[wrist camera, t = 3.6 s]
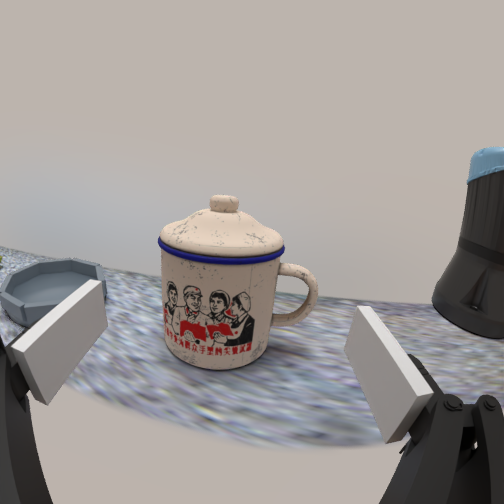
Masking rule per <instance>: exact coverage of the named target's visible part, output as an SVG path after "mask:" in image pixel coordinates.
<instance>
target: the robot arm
mask: <svg viewBox="0 0 504 504" xmlns="http://www.w3.org/2000/svg"><path fill="white" fill-rule="evenodd" d="M467 185H468V190H467V197H466V205H465V211H464V217H463V222H462V227H461V232H460V237H459V241H458V246H457V250H456V252H455V254H454V256H453V258H452V260H451V262H450V263H449V265H448V266H447V268H446V270H445V271H444V273H443V275H442V277H441V278H440V280H439V281H438V282H437V284H436V287H435V290H434V293H433V296H432V303H433V305H434V306H435V308H436V309H437V310H438V311H439V312H440V313H441V314H442V315H443V316H445V317H446V318H447V319H449V320H450V321H452V322H453V323H455V324H457V325H458V326H460V327H462V328H464V329H466V330H469V331H471V332H473V333H476V334H479V335H482V336H486V337H492V338H504V147H489V148H484V149H481V150H479V151H477V152H476V153H475V154H474V155H473V156H472V158H471V164H470V171H469V178H468V180H467ZM107 327H108V323H107V317H106V311H105V304H104V297H103V289H102V281H97V280H91V279H90V280H89V281H87V282H86V283H85V284H83V285H82V286H81V287H80V288H78V289H77V290H76V291H75V292H73V293H72V294H71V295H70V296H68V297H67V298H66V299H65V300H63V301H62V302H61V303H60V304H59V305H57V306H56V307H55V308H54V309H53V310H51V311H50V312H49V313H48V314H47V315H45V316H44V317H42V318H40V319H38V320H36V321H34V322H33V323H32V324H30V325H29V326H28V327H27V329H25V330H24V331H23V332H22V333H20V334H19V335H18V336H17V337H16V338H15V339H14V340H13V341H11V342H10V343H9V344H8V345H7V346H6V347H4V344H3V341H2V339H1V336H0V504H53V502H52V499H51V497H50V494H49V491H48V488H47V485H46V482H45V478H44V475H43V472H42V468H41V465H40V461H39V456H38V453H37V448H36V443H35V438H34V433H33V427H32V421H31V413H30V405H29V399H28V396H27V395H26V393H27V392H28V391H29V390H30V391H31V393H32V395H33V397H34V398H35V400H37V401H39V402H41V403H43V404H45V405H48V404H49V403H50V402H51V400H52V399H53V397H54V396H55V395H56V393H57V392H58V390H59V389H60V388H61V386H62V385H63V384H64V382H65V381H66V379H67V378H68V377H69V375H70V374H71V373H72V371H73V370H74V369H75V367H76V366H77V365H78V363H79V362H80V361H81V360H82V358H83V357H84V356H85V354H86V353H87V352H88V351H89V349H90V348H91V347H92V345H93V344H94V343H95V342H96V340H97V339H98V338H99V337H100V335H101V334H102V333H103V332H104V330H105V329H106V328H107ZM344 351H345V353H346V355H347V358H348V360H349V362H350V364H351V366H352V368H353V371H354V373H355V375H356V377H357V379H358V382H359V384H360V386H361V388H362V390H363V393H364V395H365V397H366V399H367V402H368V404H369V406H370V409H371V411H372V413H373V416H374V418H375V420H376V423H377V425H378V427H379V430H380V432H381V435H382V437H383V439H384V442H385V444H388V443H392V442H396V441H401V440H402V439H403V437H404V436H405V435H406V433H407V432H409V434H410V436H411V438H410V440H409V441H408V442H407V443H406V445H405V446H404V447H403V448H402V450H401V451H400V452H399V453H400V454H401V453H402V452H403V451H404V453H403V455H402V457H401V460H400V462H399V464H398V467H397V469H396V471H395V473H394V475H393V477H392V479H391V482H390V484H389V486H388V488H387V489H386V491H385V494H384V495H383V497H382V499H381V501H380V503H379V504H504V416H503V412H502V409H501V406H500V404H499V402H498V401H497V400H496V398H495V397H493V396H490V395H482V396H480V397H479V399H478V400H477V402H476V403H475V404H463V402H462V400H460V399H459V398H458V397H456V396H454V395H451V394H444V393H443V392H442V391H441V389H440V388H439V386H438V385H437V384H436V382H435V381H434V379H433V378H432V377H431V375H429V373H428V371H427V370H426V369H424V368H425V367H424V366H423V365H422V363H421V362H420V361H419V360H418V359H417V358H416V357H414V356H413V355H411V354H406V353H405V351H404V350H403V349H402V347H401V346H400V345H399V343H398V342H397V341H396V339H395V338H394V337H393V335H392V334H391V333H390V331H389V330H388V329H387V327H386V326H385V325H384V324H383V322H382V321H381V320H380V318H379V317H378V316H377V315H376V313H375V312H374V311H373V310H372V308H371V307H370V306H357V307H356V311H355V315H354V318H353V322H352V325H351V328H350V332H349V335H348V338H347V341H346V344H345V348H344ZM476 442H477V448H476V449H475V447H474V444H475V443H476Z"/></svg>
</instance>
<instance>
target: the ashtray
mask: <svg viewBox="0 0 504 504" xmlns="http://www.w3.org/2000/svg"><path fill="white" fill-rule="evenodd" d="M90 279H91V280H97V281H102V289H103V297H104V300H105V297H106V294H107V289H106V280H105V277H104V273H103V269H102V265H100V264H98V263H93V262H89V261H85V260H81V259H77V258H73V259H71V258H65V259H54V260H45V261H39V263H37V262H34V263H32V264H30V265H28V266H25V267H23V268H21V269H18V270H16V271H14V272H12V273H10V275H7V277H6V278H5V280H4V282H3V284H2V286H1V288H0V301H1V304H2V308H3V309H5V310H6V311H7V314H8V316H9V317H10V318H11V319H12V320H13V321H14V322H16V323H18V324H20V325H22V326H26V327H28V326H29V325H30V324H32V323H33V322H34V321H36V320H38V319H40V318H42V317H44V316H45V315H47V314H48V313H49V312H50V311H51V310H53V309H54V308H55V307H56V306H57V305H59V304H60V303H61V302H62V301H63V300H65V299H66V298H67V297H68V296H70V295H71V294H72V293H73V292H75V291H76V290H77V289H78V288H80V287H81V286H82V285H83V284H85V283H86V282H87V281H89V280H90Z"/></svg>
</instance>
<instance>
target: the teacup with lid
mask: <svg viewBox="0 0 504 504" xmlns="http://www.w3.org/2000/svg"><path fill="white" fill-rule="evenodd" d="M238 204H239V201H238V199H237V198H236V197H234V196H227V195H214V196H212V197H211V199H210V207H211V209H203V210H200V211H197V212H195V213H193V214H192V215H190V216H189V217H187V218H186V219H184V220H181V221H176V222H173V223H170V224H168V225H166V226H165V227H164V228H163V229H162V231H161V232H160V236H159V238H158V244H159V246H160V247H161V266H162V267H161V271H162V303H163V321H164V336H165V341H166V344H167V346H168V347H169V349H170V350H171V351H172V353H174V354H175V355H176V356H177V357H178V358H180V359H181V360H183V361H185V362H187V363H189V364H191V365H194V366H197V367H201V368H207V369H218V370H220V369H232V368H237V367H241V366H244V365H246V364H249V363H251V362H253V361H254V360H256V359H257V358H258V357H259V356H261V354H262V353H263V352H264V351H265V349H266V347H267V343H268V338H269V331H270V326H280V327H283V326H291V325H294V324H297V323H299V322H300V321H302V320H303V319H304V318H306V317H307V316H308V315H309V313H310V312H311V311H312V309H313V308H314V306H315V304H316V301H317V297H318V285H317V282H316V279H315V277H314V276H313V275H312V274H311V272H310V271H308V270H307V269H305V268H304V267H301V266H298V265H295V264H288V263H280V256H281V255H282V254H283V253H284V250H285V247H284V243H283V239H282V237H281V235H280V234H279V233H277V232H276V231H274V230H272V229H270V228H268V227H265V226H263V225H261V224H260V223H258V222H257V221H256V220H255V219H254V218H253V217H252V216H250V215H249V214H247V213H244V212H241V211H237V209H238ZM278 275H285V276H293V277H297V278H299V279H302V280H303V281H304V282H305V283H306V284H307V285H308V287H309V293H308V296H307V298H306V300H305V302H304V303H303V304H302V306H301V307H300V308H298V309H297V310H296V311H294V312H292V313H288V314H273V313H272V312H273V305H274V298H275V291H276V284H277V276H278Z"/></svg>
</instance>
